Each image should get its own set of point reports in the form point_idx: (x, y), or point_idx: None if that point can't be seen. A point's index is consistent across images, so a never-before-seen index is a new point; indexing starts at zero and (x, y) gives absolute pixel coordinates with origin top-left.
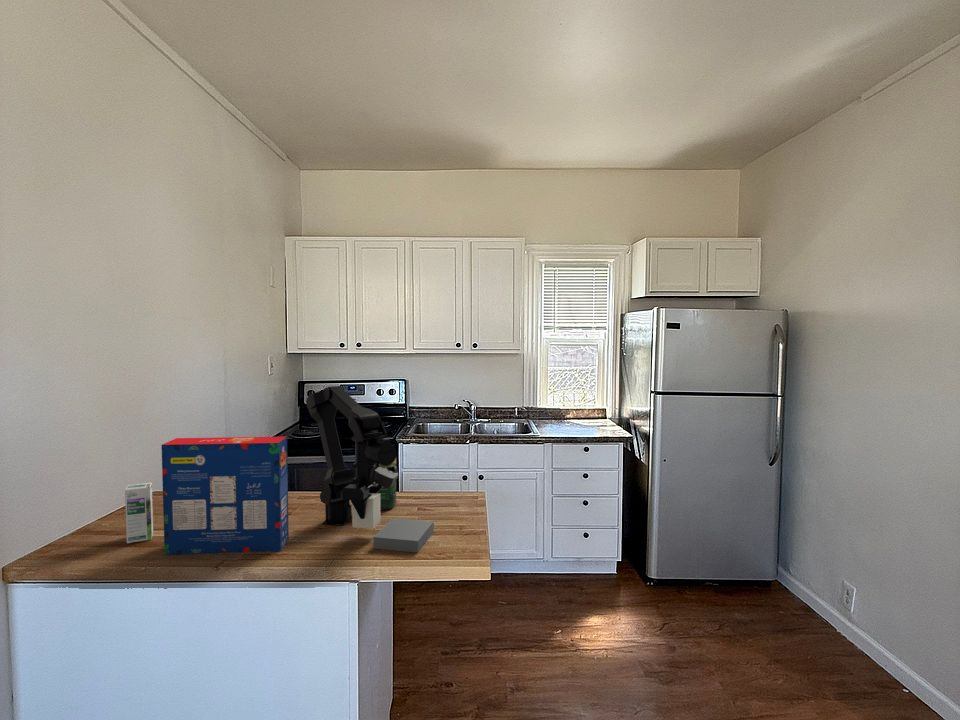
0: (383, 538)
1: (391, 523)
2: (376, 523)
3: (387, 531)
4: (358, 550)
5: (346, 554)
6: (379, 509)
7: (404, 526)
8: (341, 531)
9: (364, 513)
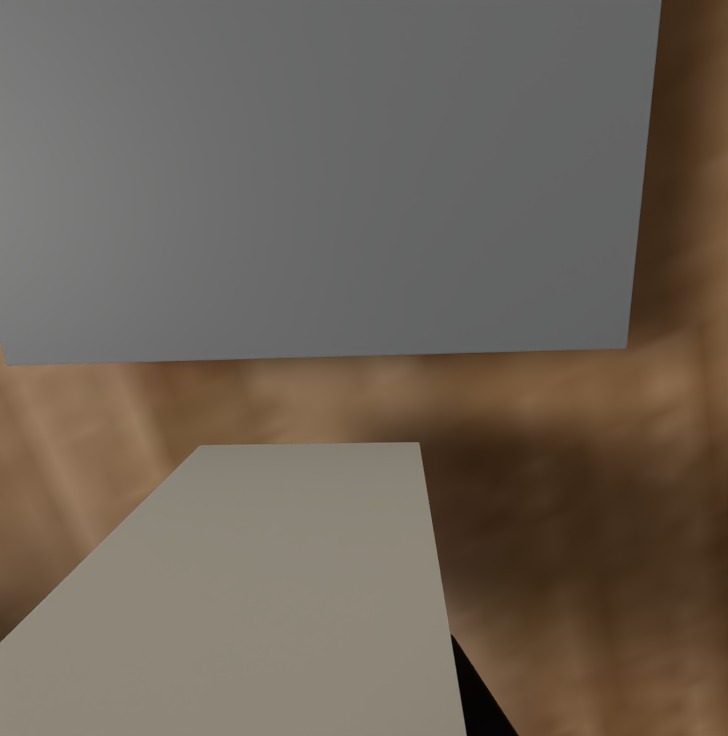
0: (636, 214)
1: (162, 315)
2: (319, 455)
3: (419, 255)
4: (628, 436)
5: (721, 494)
6: (137, 550)
7: (198, 98)
8: None
9: (495, 705)
